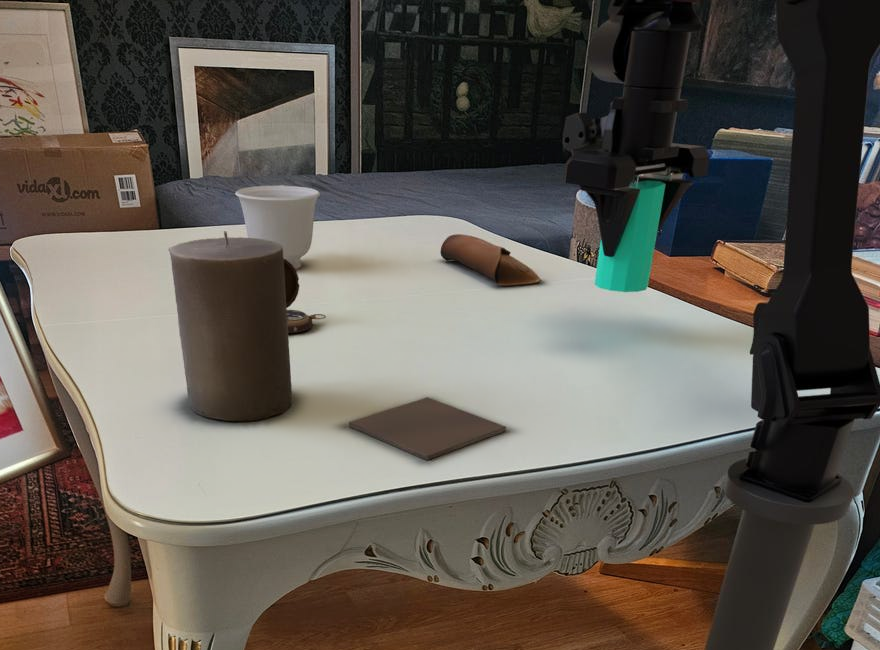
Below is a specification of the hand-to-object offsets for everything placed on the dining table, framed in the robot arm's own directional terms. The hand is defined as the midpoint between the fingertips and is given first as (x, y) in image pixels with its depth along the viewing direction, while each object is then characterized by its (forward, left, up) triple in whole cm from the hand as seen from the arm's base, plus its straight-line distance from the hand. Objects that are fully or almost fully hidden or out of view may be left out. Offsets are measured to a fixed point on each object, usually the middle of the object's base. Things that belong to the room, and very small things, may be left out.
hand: (626, 252), depth 97 cm
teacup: (+55, +7, -10) cm, 56 cm away
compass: (+28, +26, -10) cm, 39 cm away
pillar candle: (+10, +46, -10) cm, 48 cm away
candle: (0, 0, -4) cm, 4 cm away
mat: (-6, +37, -9) cm, 39 cm away
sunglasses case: (+32, -14, -10) cm, 36 cm away
